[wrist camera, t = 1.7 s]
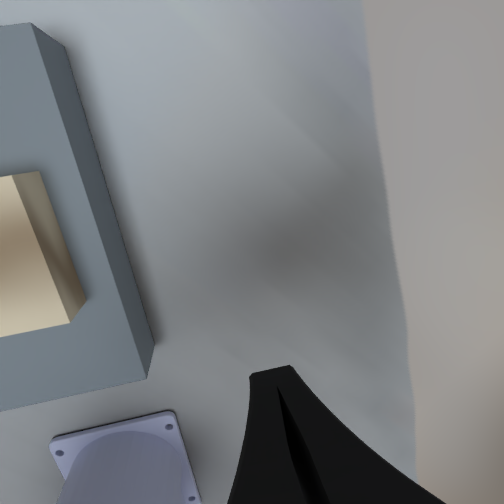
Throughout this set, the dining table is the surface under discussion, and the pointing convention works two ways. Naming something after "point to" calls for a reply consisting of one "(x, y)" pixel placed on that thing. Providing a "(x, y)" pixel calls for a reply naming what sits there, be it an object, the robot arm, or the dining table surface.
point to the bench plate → (66, 232)
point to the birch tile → (33, 260)
